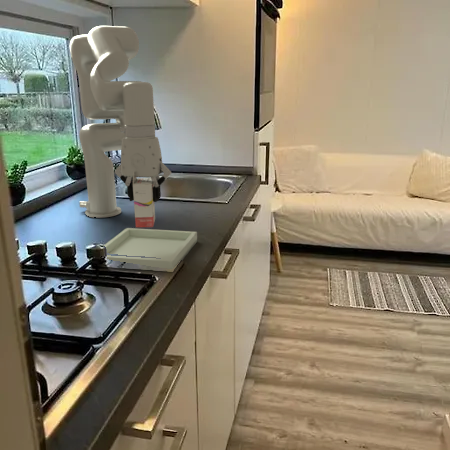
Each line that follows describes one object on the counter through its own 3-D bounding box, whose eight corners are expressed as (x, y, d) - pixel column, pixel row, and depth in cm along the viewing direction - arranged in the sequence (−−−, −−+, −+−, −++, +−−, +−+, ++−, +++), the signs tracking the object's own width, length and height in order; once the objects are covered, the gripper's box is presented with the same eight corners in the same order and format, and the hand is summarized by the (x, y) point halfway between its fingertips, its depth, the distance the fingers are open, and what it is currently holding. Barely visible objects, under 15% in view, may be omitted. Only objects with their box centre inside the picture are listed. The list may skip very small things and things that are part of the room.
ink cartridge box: (154, 227, 126) (151, 172, 122) (135, 228, 126) (131, 172, 121) (156, 218, 134) (153, 166, 130) (138, 219, 134) (134, 166, 129)
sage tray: (91, 266, 123) (89, 255, 123) (127, 237, 146) (126, 228, 145) (172, 272, 119) (172, 261, 118) (197, 241, 142) (196, 231, 141)
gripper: (102, 133, 121) (108, 202, 126) (167, 134, 118) (171, 205, 123) (114, 130, 128) (120, 196, 133) (176, 130, 125) (179, 198, 130)
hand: (144, 199), depth 128 cm, fingers closed on ink cartridge box, 5 cm apart
